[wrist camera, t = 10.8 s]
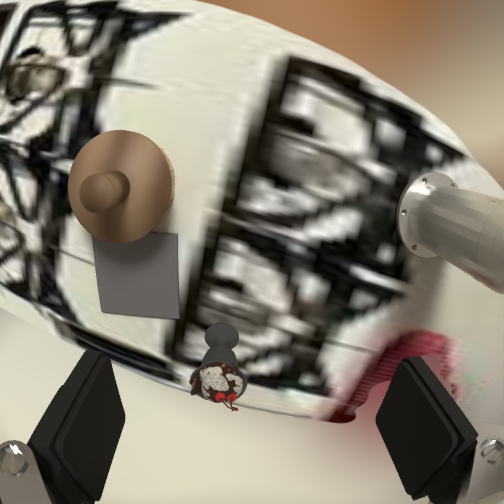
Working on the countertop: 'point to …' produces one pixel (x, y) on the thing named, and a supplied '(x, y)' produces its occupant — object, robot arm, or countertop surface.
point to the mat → (139, 276)
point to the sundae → (219, 367)
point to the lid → (120, 186)
